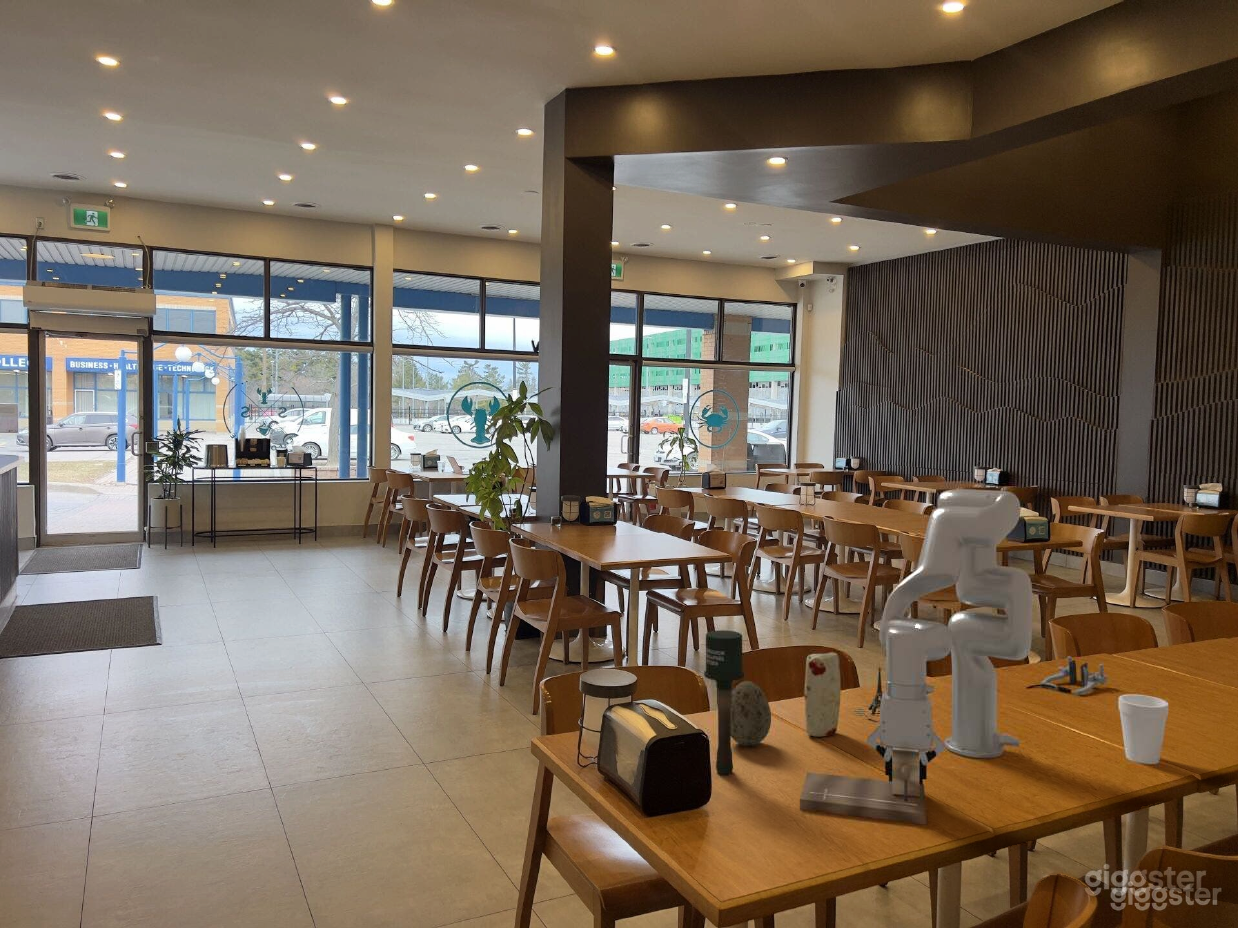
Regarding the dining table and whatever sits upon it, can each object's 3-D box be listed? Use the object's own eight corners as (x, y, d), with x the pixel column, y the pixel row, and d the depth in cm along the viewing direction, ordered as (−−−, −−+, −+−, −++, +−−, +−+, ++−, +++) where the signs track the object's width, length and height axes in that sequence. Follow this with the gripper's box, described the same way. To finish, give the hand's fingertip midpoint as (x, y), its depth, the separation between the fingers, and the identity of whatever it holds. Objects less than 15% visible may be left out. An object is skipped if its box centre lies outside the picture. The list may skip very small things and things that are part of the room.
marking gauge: (918, 788, 178) (918, 746, 177) (919, 815, 165) (919, 769, 165) (892, 786, 179) (892, 743, 179) (892, 812, 167) (892, 766, 167)
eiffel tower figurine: (878, 703, 237) (878, 654, 236) (911, 712, 229) (912, 661, 229) (844, 714, 227) (844, 663, 227) (878, 724, 220) (878, 672, 219)
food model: (816, 742, 206) (816, 658, 205) (797, 733, 212) (797, 651, 211) (847, 734, 211) (847, 652, 210) (828, 726, 217) (828, 646, 216)
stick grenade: (701, 765, 192) (700, 630, 191) (739, 764, 193) (739, 628, 192) (708, 781, 184) (707, 639, 183) (748, 779, 185) (748, 638, 184)
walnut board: (923, 794, 176) (923, 784, 176) (925, 824, 163) (925, 813, 163) (807, 781, 183) (807, 771, 183) (799, 809, 170) (799, 798, 170)
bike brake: (1066, 674, 258) (1026, 696, 248) (1064, 652, 258) (1024, 673, 247) (1112, 686, 247) (1072, 709, 236) (1111, 663, 246) (1071, 685, 236)
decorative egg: (736, 755, 198) (735, 689, 198) (717, 739, 209) (717, 677, 208) (779, 750, 201) (779, 685, 201) (758, 734, 212) (758, 673, 211)
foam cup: (1150, 769, 188) (1151, 709, 187) (1109, 755, 196) (1109, 698, 196) (1176, 761, 192) (1177, 702, 192) (1135, 748, 200) (1135, 692, 200)
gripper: (951, 688, 174) (950, 778, 175) (861, 681, 179) (861, 768, 180) (953, 699, 167) (952, 793, 168) (860, 691, 172) (860, 782, 173)
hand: (905, 779), depth 174 cm, fingers closed on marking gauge, 5 cm apart
